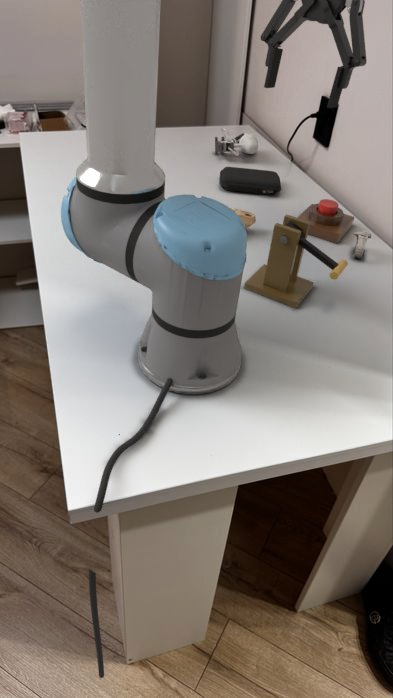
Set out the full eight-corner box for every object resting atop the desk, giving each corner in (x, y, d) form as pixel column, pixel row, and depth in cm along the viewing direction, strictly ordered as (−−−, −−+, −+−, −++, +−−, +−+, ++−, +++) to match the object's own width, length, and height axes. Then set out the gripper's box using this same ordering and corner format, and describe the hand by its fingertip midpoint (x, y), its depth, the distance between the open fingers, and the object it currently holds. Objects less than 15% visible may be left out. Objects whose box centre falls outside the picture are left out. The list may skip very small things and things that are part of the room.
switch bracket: (312, 287, 97) (329, 223, 88) (295, 308, 91) (312, 242, 83) (263, 269, 100) (275, 206, 92) (244, 288, 95) (255, 222, 86)
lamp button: (332, 218, 111) (334, 209, 110) (314, 212, 112) (316, 203, 111) (338, 211, 114) (341, 202, 112) (321, 206, 115) (323, 197, 114)
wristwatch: (366, 249, 109) (373, 227, 106) (364, 264, 105) (371, 241, 101) (349, 246, 110) (355, 224, 107) (346, 260, 105) (353, 237, 102)
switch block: (336, 243, 110) (341, 226, 108) (292, 228, 114) (296, 211, 111) (351, 226, 117) (356, 209, 114) (309, 212, 120) (313, 196, 118)
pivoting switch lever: (343, 270, 90) (351, 260, 88) (333, 283, 87) (341, 273, 85) (286, 227, 91) (293, 217, 89) (274, 239, 88) (281, 228, 86)
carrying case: (218, 193, 124) (280, 199, 124) (219, 181, 122) (283, 187, 122) (219, 175, 132) (278, 181, 133) (220, 163, 130) (280, 169, 131)
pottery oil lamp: (258, 239, 108) (252, 216, 102) (201, 251, 110) (192, 229, 104) (254, 207, 112) (248, 183, 106) (199, 219, 115) (191, 196, 109)
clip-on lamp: (212, 150, 154) (216, 159, 138) (212, 126, 151) (216, 132, 135) (253, 149, 154) (261, 157, 138) (253, 125, 151) (262, 131, 135)
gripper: (415, -30, 82) (369, 113, 95) (281, -54, 93) (255, 78, 106) (398, -34, 77) (351, 118, 90) (258, -59, 88) (234, 80, 101)
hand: (299, 97), depth 98 cm, fingers open, 13 cm apart
